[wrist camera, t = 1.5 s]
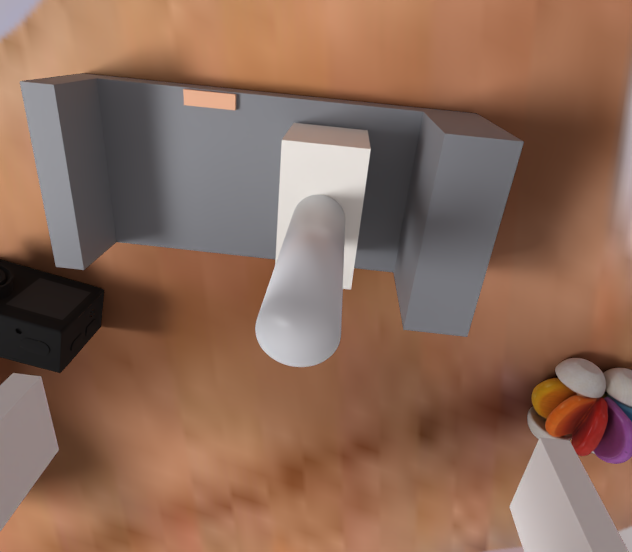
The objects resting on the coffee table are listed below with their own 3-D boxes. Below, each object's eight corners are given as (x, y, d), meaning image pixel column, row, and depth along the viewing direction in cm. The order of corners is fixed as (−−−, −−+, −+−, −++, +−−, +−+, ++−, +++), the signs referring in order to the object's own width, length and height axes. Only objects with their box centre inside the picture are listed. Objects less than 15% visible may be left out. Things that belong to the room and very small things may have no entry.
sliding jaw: (286, 244, 35) (231, 414, 19) (293, 122, 31) (231, 210, 15) (351, 251, 35) (350, 428, 19) (367, 130, 31) (383, 227, 15)
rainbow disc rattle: (547, 343, 40) (584, 401, 34) (651, 367, 41) (708, 428, 34) (508, 413, 44) (535, 477, 38) (603, 434, 45) (646, 501, 38)
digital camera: (107, 277, 41) (62, 320, 34) (102, 326, 43) (60, 374, 37) (-12, 243, 40) (-79, 281, 34) (-10, 295, 42) (-72, 339, 36)
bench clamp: (103, 229, 38) (28, 287, 29) (82, 73, 33) (-18, 86, 24) (440, 266, 38) (467, 336, 29) (476, 113, 32) (523, 141, 23)
